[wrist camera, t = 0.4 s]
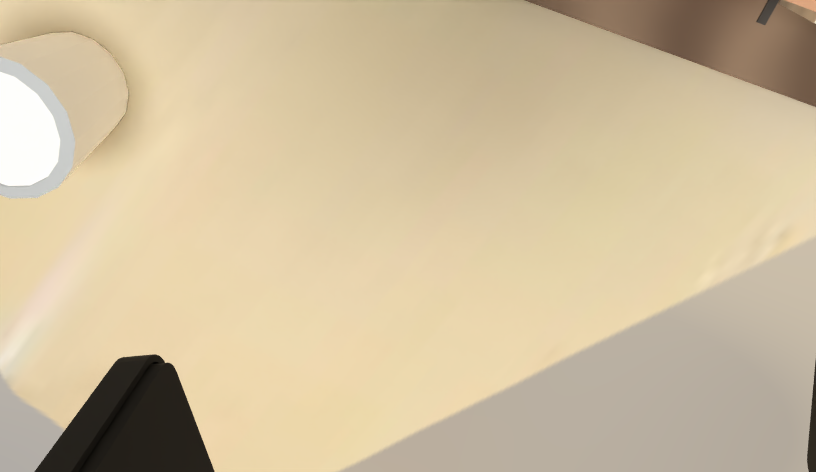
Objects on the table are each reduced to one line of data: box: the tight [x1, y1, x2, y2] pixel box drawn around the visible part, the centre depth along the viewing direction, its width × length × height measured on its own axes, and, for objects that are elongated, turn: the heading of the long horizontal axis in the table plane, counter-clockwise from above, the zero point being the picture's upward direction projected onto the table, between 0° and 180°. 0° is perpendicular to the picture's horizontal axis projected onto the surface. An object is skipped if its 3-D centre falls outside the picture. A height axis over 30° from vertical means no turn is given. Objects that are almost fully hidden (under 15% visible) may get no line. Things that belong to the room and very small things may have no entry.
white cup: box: [0, 32, 129, 198], centre depth 36 cm, size 7×7×7 cm
